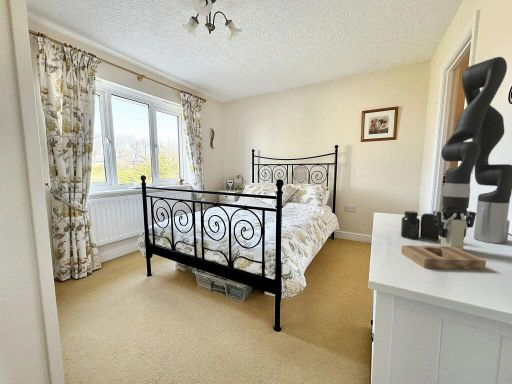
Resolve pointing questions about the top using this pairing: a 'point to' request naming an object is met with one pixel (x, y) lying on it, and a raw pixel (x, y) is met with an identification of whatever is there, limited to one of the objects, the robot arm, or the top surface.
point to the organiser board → (443, 257)
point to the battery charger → (428, 227)
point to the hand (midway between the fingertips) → (451, 237)
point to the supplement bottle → (410, 225)
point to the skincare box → (454, 234)
